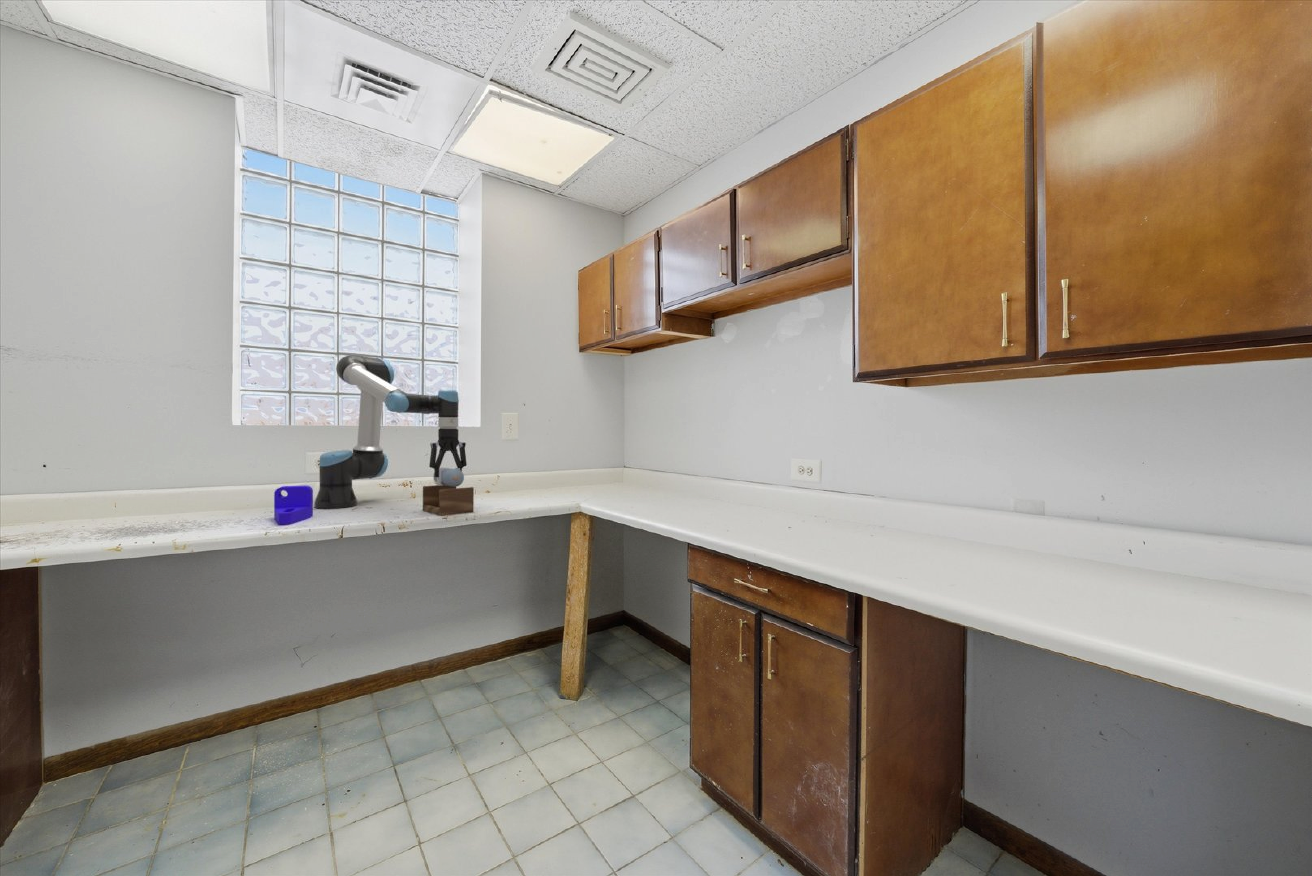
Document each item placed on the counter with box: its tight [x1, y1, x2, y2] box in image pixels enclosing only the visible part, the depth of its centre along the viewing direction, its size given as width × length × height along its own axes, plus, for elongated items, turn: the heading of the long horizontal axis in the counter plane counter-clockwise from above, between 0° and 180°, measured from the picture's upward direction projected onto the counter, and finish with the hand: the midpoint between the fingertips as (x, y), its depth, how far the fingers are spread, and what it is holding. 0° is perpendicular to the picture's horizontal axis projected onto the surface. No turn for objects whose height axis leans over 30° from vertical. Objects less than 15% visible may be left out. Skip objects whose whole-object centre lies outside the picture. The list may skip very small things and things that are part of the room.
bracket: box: [273, 484, 314, 526], centre depth 177 cm, size 18×11×12 cm, turn 26°
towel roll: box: [432, 467, 465, 488], centre depth 200 cm, size 12×7×7 cm, turn 48°
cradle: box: [422, 484, 475, 517], centre depth 200 cm, size 16×13×10 cm
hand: (448, 484), depth 200 cm, fingers closed on towel roll, 7 cm apart
